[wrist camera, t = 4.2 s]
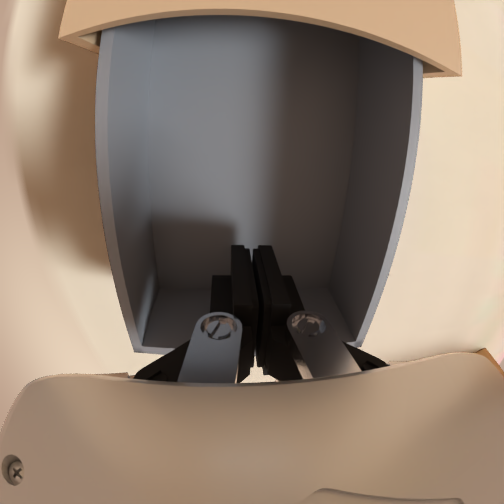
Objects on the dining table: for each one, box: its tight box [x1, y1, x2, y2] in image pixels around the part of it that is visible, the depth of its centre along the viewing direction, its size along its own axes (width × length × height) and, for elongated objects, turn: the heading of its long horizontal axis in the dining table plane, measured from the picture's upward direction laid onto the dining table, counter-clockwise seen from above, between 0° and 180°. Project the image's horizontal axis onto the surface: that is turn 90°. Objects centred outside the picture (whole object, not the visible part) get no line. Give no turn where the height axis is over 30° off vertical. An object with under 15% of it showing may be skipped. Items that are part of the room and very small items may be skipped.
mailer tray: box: [95, 15, 423, 356], centre depth 9 cm, size 15×9×4 cm, turn 177°
